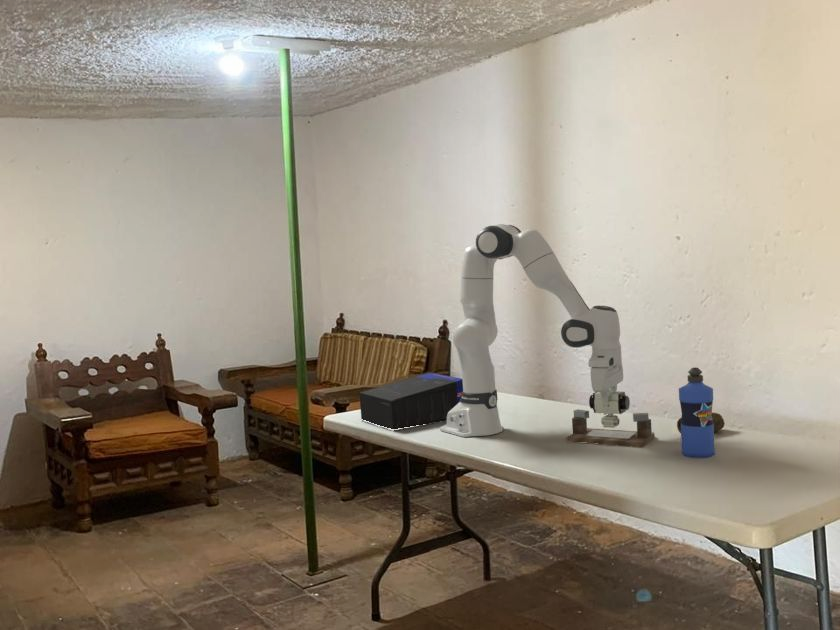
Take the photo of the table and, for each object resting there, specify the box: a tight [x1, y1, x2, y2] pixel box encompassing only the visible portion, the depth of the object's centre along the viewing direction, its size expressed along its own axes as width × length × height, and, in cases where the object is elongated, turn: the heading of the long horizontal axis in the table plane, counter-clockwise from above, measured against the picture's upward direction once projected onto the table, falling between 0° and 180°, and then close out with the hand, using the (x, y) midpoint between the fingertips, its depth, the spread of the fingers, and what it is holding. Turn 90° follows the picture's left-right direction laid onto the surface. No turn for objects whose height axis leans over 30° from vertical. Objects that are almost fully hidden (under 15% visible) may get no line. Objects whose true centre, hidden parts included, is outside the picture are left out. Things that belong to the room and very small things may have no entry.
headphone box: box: [359, 372, 463, 429], centre depth 309 cm, size 25×35×14 cm
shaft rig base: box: [566, 416, 656, 448], centre depth 259 cm, size 24×13×6 cm, turn 59°
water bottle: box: [678, 367, 716, 459], centre depth 236 cm, size 9×9×25 cm
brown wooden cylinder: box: [676, 412, 725, 434], centre depth 258 cm, size 15×7×7 cm, turn 117°
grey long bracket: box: [573, 408, 649, 439], centre depth 259 cm, size 24×8×7 cm, turn 59°
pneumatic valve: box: [588, 389, 631, 429], centre depth 258 cm, size 6×12×12 cm, turn 58°
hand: (609, 400), depth 258 cm, fingers closed on pneumatic valve, 5 cm apart
